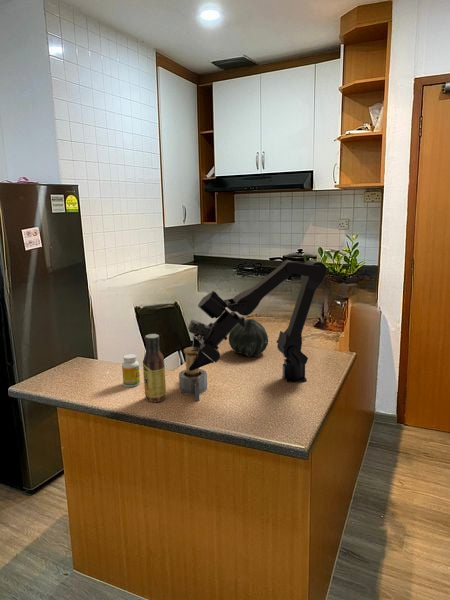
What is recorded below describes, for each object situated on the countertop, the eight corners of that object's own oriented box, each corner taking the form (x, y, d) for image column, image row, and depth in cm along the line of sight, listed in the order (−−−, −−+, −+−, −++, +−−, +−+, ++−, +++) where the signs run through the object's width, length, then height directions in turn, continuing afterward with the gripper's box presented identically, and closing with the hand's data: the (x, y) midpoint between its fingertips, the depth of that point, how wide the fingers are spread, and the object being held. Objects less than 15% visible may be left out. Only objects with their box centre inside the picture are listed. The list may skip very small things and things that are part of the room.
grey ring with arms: (177, 379, 147) (176, 364, 146) (202, 376, 149) (201, 362, 148) (183, 402, 129) (182, 386, 128) (211, 399, 131) (211, 383, 130)
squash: (240, 331, 182) (231, 310, 171) (275, 335, 176) (268, 314, 165) (229, 361, 175) (219, 341, 163) (265, 367, 169) (258, 347, 158)
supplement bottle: (125, 381, 146) (123, 353, 144) (141, 380, 147) (139, 353, 145) (122, 387, 141) (119, 359, 139) (138, 387, 141) (136, 358, 139)
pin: (203, 387, 140) (202, 347, 137) (196, 392, 136) (194, 352, 133) (190, 384, 142) (189, 346, 140) (182, 390, 138) (180, 350, 135)
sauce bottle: (146, 395, 135) (142, 332, 131) (166, 393, 136) (163, 331, 132) (144, 404, 129) (139, 338, 125) (165, 403, 129) (162, 337, 125)
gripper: (198, 304, 144) (166, 340, 144) (207, 318, 126) (171, 358, 126) (223, 326, 147) (191, 360, 147) (235, 342, 129) (199, 382, 129)
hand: (187, 364), depth 137 cm, fingers open, 9 cm apart
